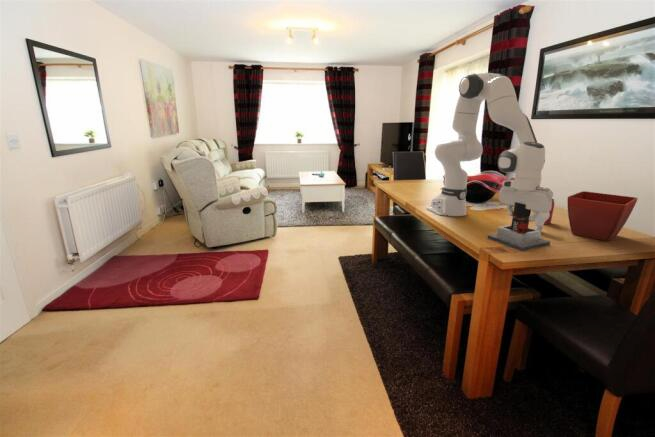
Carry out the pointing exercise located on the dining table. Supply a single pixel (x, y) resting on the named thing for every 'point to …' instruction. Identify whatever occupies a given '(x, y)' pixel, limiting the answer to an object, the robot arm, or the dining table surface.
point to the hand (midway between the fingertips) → (521, 218)
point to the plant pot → (598, 214)
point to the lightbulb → (541, 220)
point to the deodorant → (520, 218)
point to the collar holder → (519, 238)
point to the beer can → (550, 213)
